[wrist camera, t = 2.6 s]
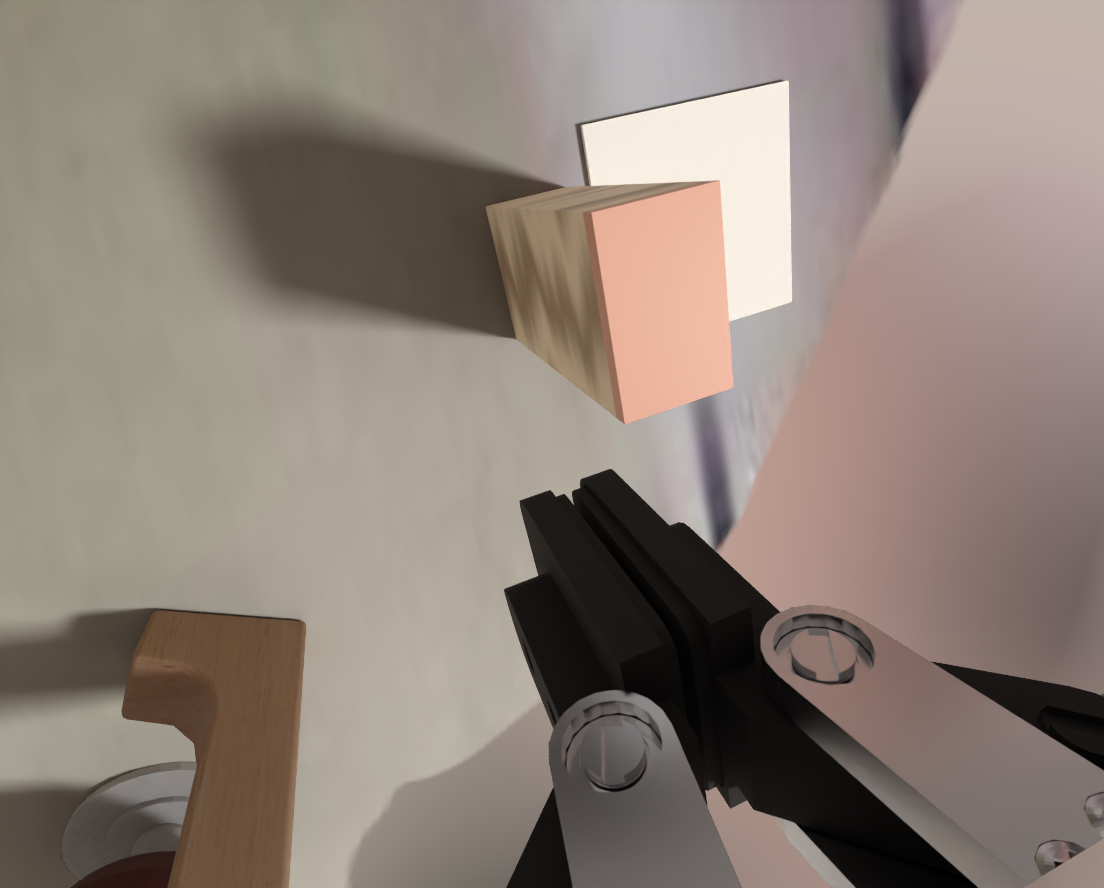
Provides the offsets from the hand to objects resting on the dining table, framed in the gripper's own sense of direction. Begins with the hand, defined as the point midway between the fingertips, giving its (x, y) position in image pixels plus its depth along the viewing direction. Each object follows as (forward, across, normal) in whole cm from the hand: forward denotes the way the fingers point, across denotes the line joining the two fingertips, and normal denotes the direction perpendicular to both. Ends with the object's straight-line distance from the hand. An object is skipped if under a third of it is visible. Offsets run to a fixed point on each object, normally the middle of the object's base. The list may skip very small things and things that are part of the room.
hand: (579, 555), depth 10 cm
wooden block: (+28, +18, +18) cm, 37 cm away
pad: (+28, -19, 0) cm, 34 cm away
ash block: (+28, -8, 0) cm, 29 cm away
